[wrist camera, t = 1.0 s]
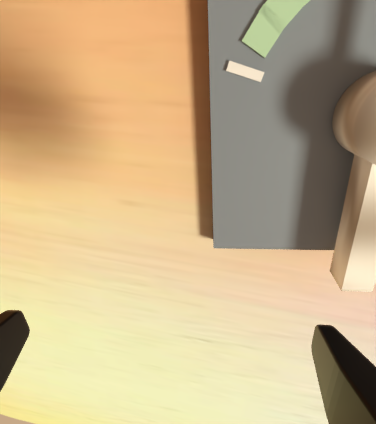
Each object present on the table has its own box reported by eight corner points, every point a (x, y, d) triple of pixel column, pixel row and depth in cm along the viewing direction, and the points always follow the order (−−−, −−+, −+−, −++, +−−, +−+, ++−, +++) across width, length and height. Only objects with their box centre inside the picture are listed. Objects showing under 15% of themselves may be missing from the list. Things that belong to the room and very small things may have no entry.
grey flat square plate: (654, -139, 10) (712, -169, 9) (473, 242, 18) (492, 254, 17) (207, -71, 13) (205, -88, 12) (214, 239, 21) (213, 249, 19)
